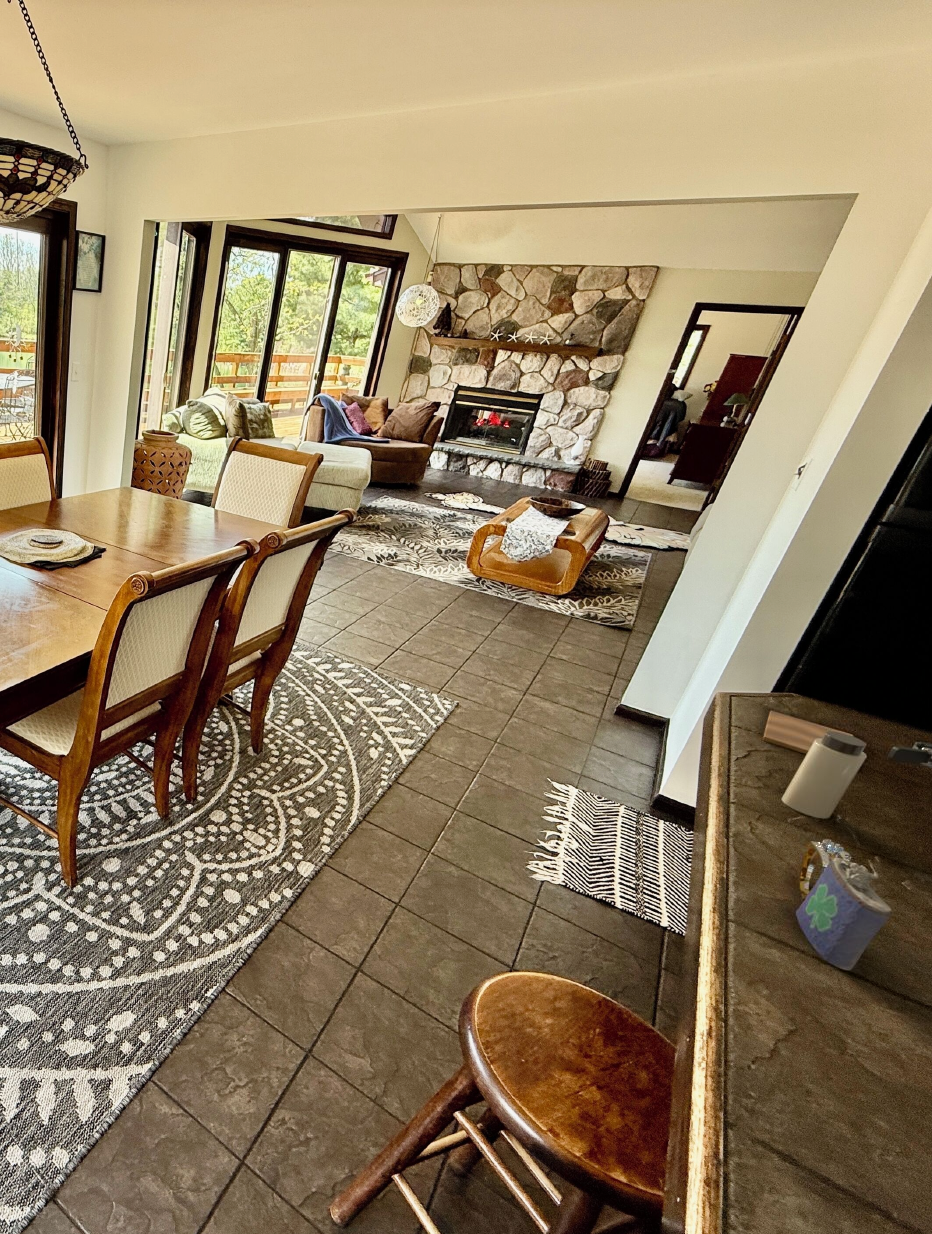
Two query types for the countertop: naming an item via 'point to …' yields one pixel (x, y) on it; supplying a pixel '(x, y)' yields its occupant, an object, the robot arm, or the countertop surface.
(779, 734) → the wooden board
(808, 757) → the salt mill
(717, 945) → the countertop surface
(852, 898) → the flask
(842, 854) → the ring
